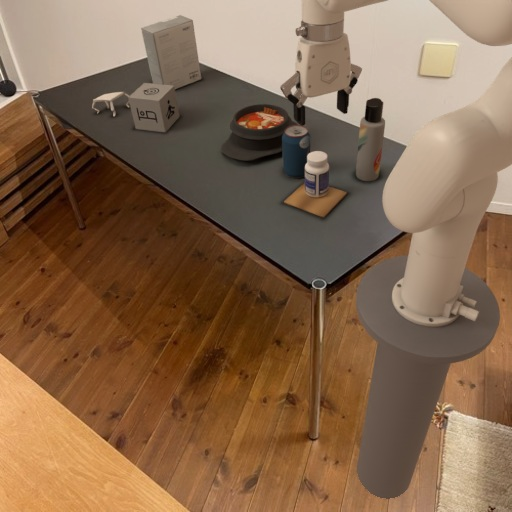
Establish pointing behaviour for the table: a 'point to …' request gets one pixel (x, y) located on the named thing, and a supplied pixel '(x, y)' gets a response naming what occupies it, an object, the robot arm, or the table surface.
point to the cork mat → (315, 201)
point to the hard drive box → (172, 51)
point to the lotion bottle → (370, 141)
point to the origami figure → (109, 100)
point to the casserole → (256, 132)
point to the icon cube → (154, 107)
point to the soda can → (295, 150)
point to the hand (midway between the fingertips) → (321, 117)
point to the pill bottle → (317, 174)
